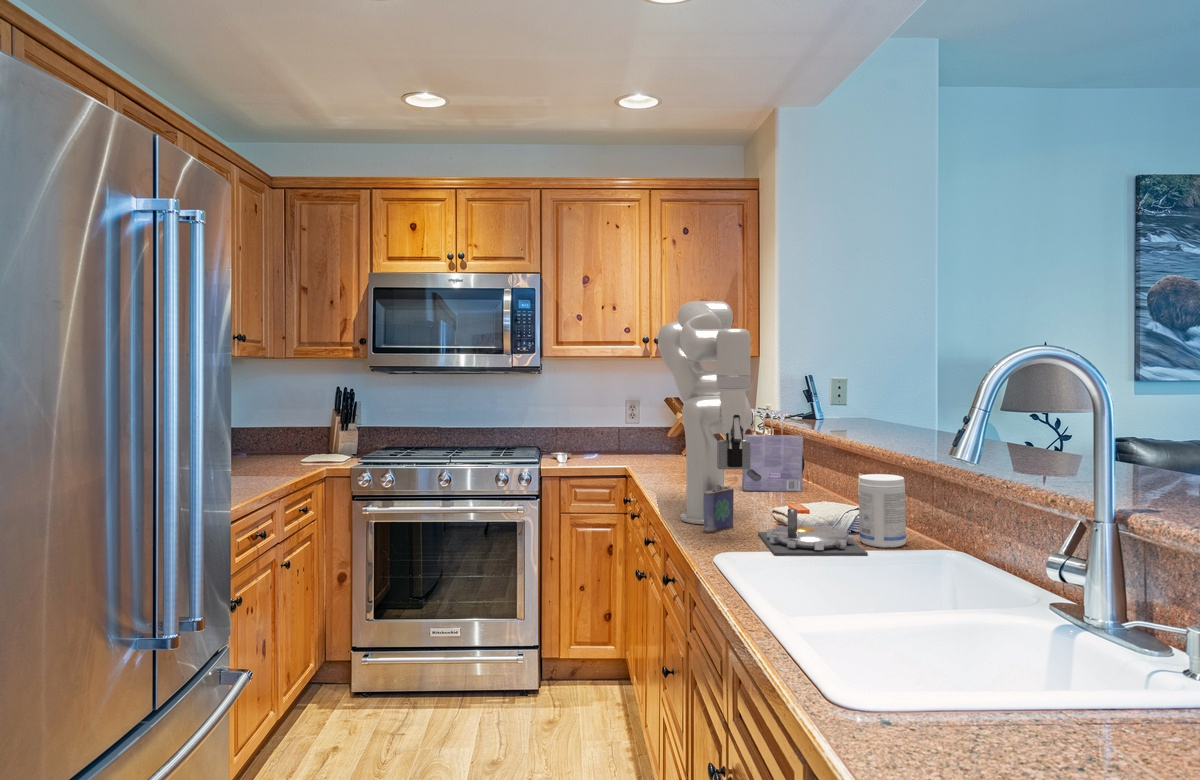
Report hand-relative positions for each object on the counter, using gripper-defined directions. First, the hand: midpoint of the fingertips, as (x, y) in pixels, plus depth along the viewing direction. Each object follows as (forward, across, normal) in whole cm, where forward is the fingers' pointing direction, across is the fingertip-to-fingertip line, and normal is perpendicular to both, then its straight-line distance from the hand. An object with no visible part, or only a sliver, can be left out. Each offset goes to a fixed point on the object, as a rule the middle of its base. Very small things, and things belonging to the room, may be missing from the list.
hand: (733, 464), depth 165 cm
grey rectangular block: (+1, 0, 0) cm, 1 cm away
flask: (+17, -11, -2) cm, 21 cm away
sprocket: (+16, +4, +16) cm, 23 cm away
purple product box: (+18, -66, +22) cm, 72 cm away
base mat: (+17, +4, +16) cm, 24 cm away
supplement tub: (+17, +3, +32) cm, 36 cm away
